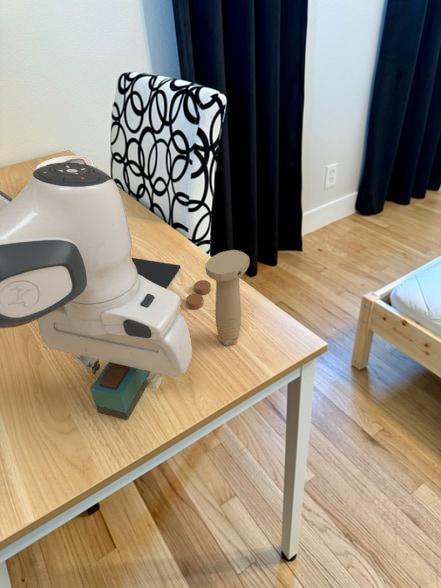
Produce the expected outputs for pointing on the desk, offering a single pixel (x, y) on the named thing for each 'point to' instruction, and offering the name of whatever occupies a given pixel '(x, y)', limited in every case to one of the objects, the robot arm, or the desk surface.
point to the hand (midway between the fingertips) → (123, 377)
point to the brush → (118, 389)
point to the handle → (227, 292)
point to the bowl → (65, 158)
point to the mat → (156, 271)
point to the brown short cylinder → (194, 301)
